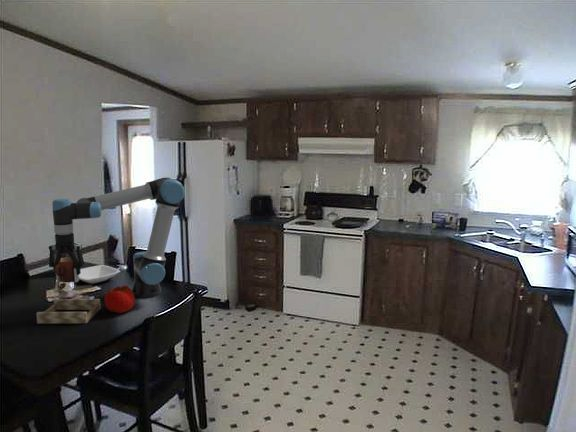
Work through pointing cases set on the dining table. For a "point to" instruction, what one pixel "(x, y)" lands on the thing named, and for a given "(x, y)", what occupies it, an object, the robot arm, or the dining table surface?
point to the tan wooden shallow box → (69, 317)
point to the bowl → (97, 273)
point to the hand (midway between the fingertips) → (68, 281)
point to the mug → (66, 270)
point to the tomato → (119, 299)
